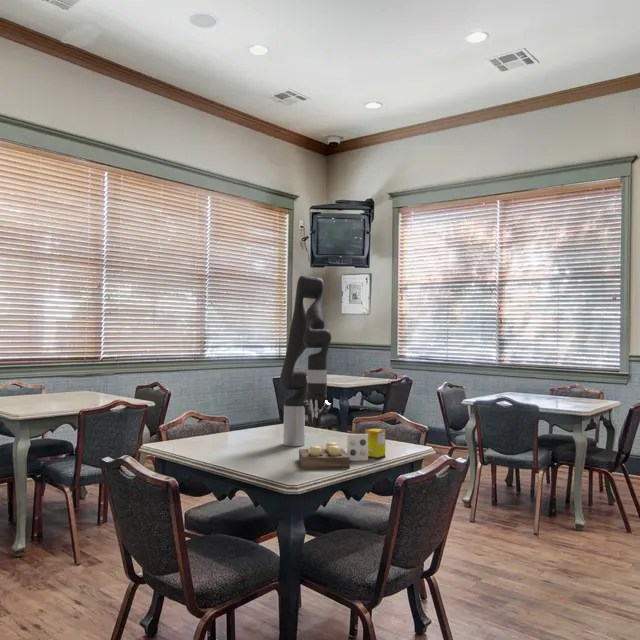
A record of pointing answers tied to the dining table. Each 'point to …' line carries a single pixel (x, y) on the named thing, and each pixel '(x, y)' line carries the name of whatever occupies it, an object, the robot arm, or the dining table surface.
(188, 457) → the dining table surface
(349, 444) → the card
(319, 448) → the button
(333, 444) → the button
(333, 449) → the button
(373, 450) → the supplement box
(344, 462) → the button board
